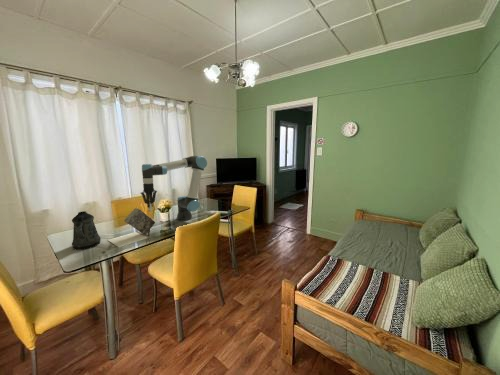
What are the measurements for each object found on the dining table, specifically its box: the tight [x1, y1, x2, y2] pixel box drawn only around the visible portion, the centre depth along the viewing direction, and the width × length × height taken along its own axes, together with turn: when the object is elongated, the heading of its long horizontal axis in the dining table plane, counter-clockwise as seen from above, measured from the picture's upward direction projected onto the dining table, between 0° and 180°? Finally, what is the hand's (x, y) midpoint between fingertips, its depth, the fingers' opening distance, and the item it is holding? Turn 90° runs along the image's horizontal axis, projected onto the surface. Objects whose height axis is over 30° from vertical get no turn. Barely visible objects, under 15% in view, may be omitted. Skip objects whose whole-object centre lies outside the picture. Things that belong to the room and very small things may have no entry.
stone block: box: [124, 208, 156, 236], centre depth 168 cm, size 13×7×20 cm
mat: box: [107, 231, 150, 249], centre depth 162 cm, size 22×20×1 cm
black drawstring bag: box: [71, 210, 102, 251], centre depth 149 cm, size 16×19×25 cm
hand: (150, 211), depth 174 cm, fingers closed
